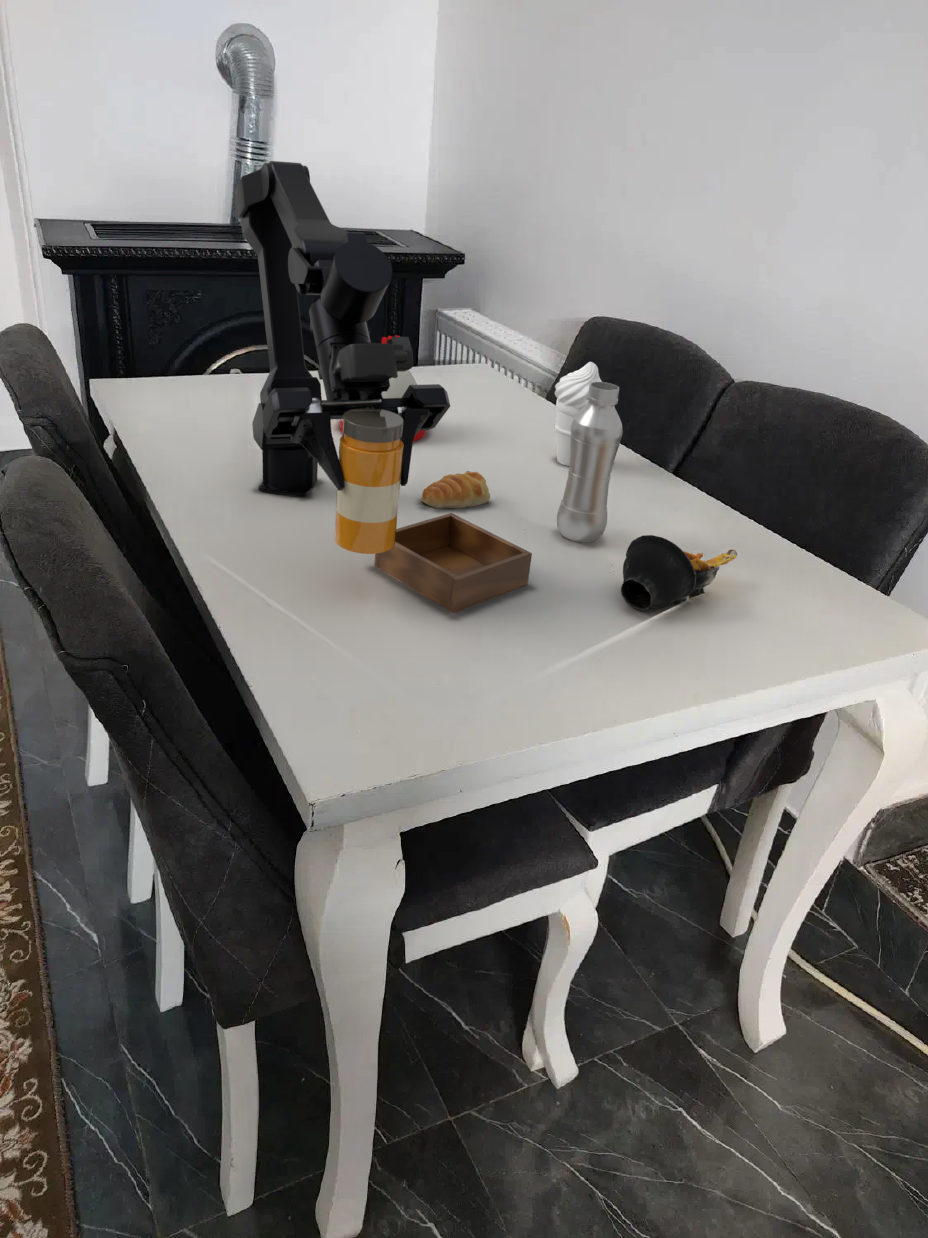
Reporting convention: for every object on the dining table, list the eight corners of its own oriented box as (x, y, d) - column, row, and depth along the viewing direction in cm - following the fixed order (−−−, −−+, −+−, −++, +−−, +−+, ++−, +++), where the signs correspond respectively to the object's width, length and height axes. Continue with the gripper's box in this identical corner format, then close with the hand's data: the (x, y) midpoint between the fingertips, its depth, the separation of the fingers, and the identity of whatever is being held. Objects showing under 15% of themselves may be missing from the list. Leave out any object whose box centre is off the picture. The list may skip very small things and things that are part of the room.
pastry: (439, 517, 122) (442, 490, 120) (409, 499, 126) (411, 473, 124) (493, 505, 127) (496, 478, 125) (462, 488, 132) (465, 463, 130)
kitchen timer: (441, 431, 153) (449, 339, 145) (392, 450, 142) (398, 352, 135) (374, 411, 159) (378, 322, 151) (322, 428, 148) (324, 333, 141)
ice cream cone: (537, 463, 144) (552, 361, 136) (553, 449, 150) (567, 350, 143) (588, 475, 141) (606, 371, 133) (602, 460, 148) (620, 360, 140)
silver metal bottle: (572, 551, 117) (598, 395, 107) (544, 529, 122) (567, 379, 112) (613, 545, 119) (643, 392, 110) (584, 524, 124) (610, 377, 115)
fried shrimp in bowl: (589, 562, 103) (670, 479, 112) (622, 640, 108) (696, 555, 117) (658, 564, 96) (737, 476, 106) (689, 647, 101) (762, 556, 110)
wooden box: (374, 568, 107) (376, 534, 105) (448, 545, 114) (451, 512, 112) (453, 616, 99) (457, 580, 97) (527, 587, 107) (532, 553, 104)
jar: (327, 529, 99) (332, 407, 92) (383, 525, 102) (393, 406, 95) (344, 556, 94) (352, 429, 87) (403, 551, 97) (415, 428, 90)
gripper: (268, 303, 85) (298, 458, 82) (452, 305, 93) (485, 448, 90) (250, 364, 95) (277, 504, 92) (417, 362, 103) (447, 492, 100)
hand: (373, 486), depth 93 cm, fingers closed on jar, 6 cm apart
